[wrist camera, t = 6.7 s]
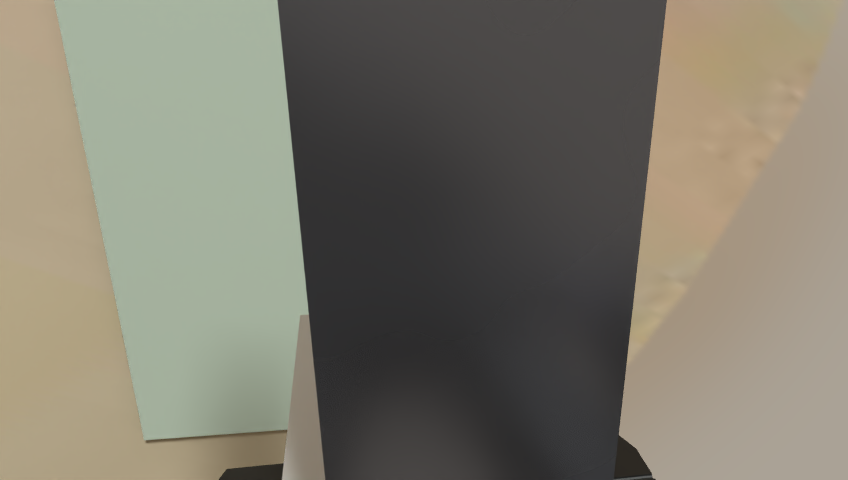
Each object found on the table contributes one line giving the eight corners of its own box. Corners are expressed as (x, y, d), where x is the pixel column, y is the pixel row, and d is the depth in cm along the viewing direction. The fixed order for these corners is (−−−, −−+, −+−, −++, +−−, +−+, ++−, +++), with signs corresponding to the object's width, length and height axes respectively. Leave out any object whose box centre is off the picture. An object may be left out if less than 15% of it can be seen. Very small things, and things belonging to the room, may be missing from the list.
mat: (147, 433, 38) (144, 440, 38) (5, -269, 26) (-2, -275, 25) (352, 418, 40) (352, 424, 39) (310, -262, 27) (309, -268, 27)
